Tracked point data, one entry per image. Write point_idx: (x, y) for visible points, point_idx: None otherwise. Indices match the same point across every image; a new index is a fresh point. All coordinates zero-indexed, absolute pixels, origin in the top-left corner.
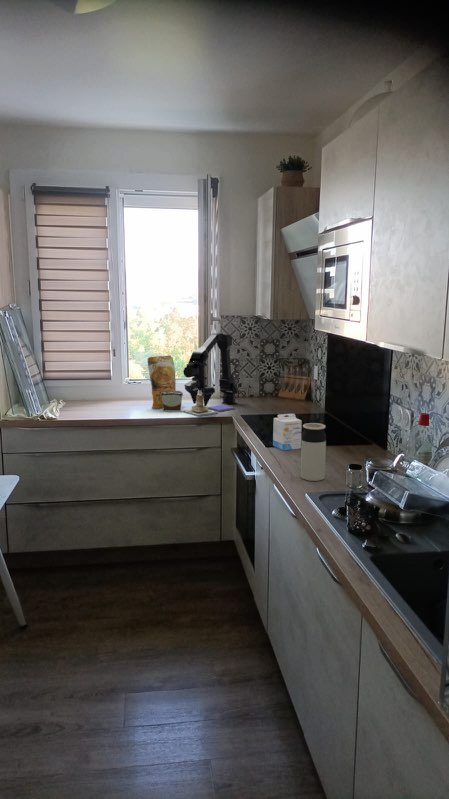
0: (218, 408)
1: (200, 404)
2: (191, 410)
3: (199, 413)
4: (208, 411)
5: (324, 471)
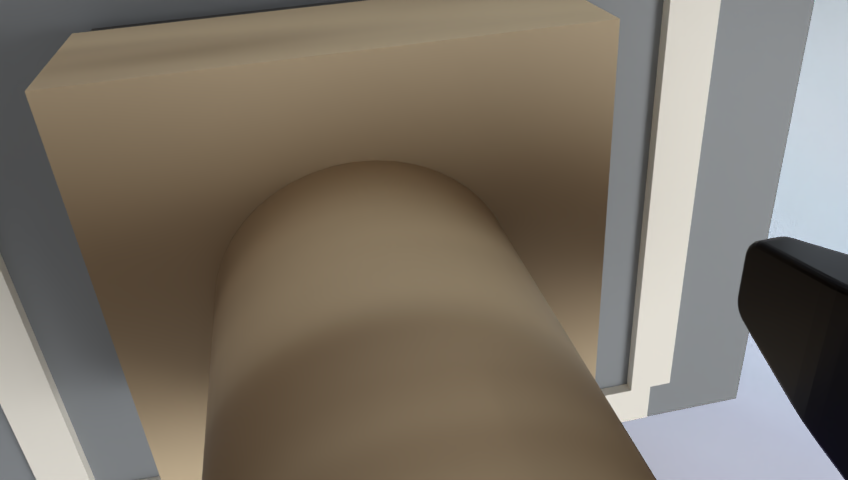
0: None
1: (221, 332)
2: (659, 37)
3: (30, 21)
4: None
5: None
